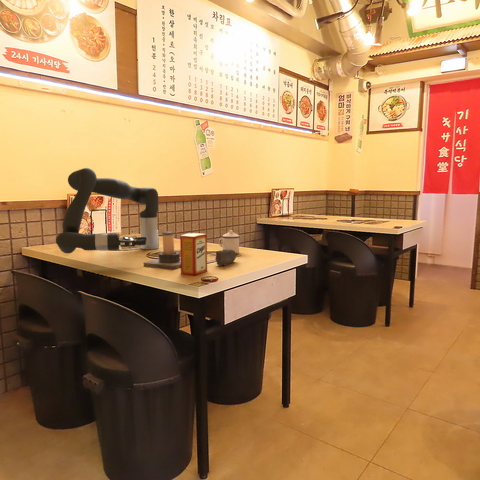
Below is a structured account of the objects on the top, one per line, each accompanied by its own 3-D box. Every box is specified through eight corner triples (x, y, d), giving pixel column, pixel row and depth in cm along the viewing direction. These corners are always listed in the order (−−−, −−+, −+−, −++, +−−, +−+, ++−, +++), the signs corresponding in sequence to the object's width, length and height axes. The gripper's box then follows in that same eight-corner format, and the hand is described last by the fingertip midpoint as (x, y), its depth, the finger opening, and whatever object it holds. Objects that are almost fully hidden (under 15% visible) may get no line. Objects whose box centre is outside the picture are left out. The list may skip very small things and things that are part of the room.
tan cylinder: (168, 259, 181) (166, 231, 179) (177, 260, 179) (175, 231, 177) (161, 261, 177) (159, 232, 175) (170, 262, 175) (168, 233, 173)
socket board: (166, 259, 189) (166, 249, 188) (194, 262, 181) (194, 252, 181) (143, 265, 175) (143, 254, 174) (172, 269, 168) (172, 258, 167)
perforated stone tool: (230, 260, 187) (230, 246, 186) (240, 262, 184) (240, 247, 183) (211, 266, 174) (211, 251, 173) (221, 268, 172) (221, 252, 171)
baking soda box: (193, 269, 168) (193, 232, 166) (207, 271, 165) (206, 232, 163) (181, 274, 160) (180, 234, 157) (194, 275, 157) (194, 235, 154)
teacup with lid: (242, 252, 209) (242, 230, 207) (233, 254, 201) (233, 232, 200) (223, 250, 215) (223, 228, 214) (214, 252, 208) (214, 230, 206)
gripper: (104, 235, 163) (145, 234, 167) (109, 231, 177) (146, 230, 180) (105, 253, 164) (146, 252, 168) (109, 247, 178) (146, 246, 181)
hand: (146, 240), depth 174 cm, fingers open, 8 cm apart
